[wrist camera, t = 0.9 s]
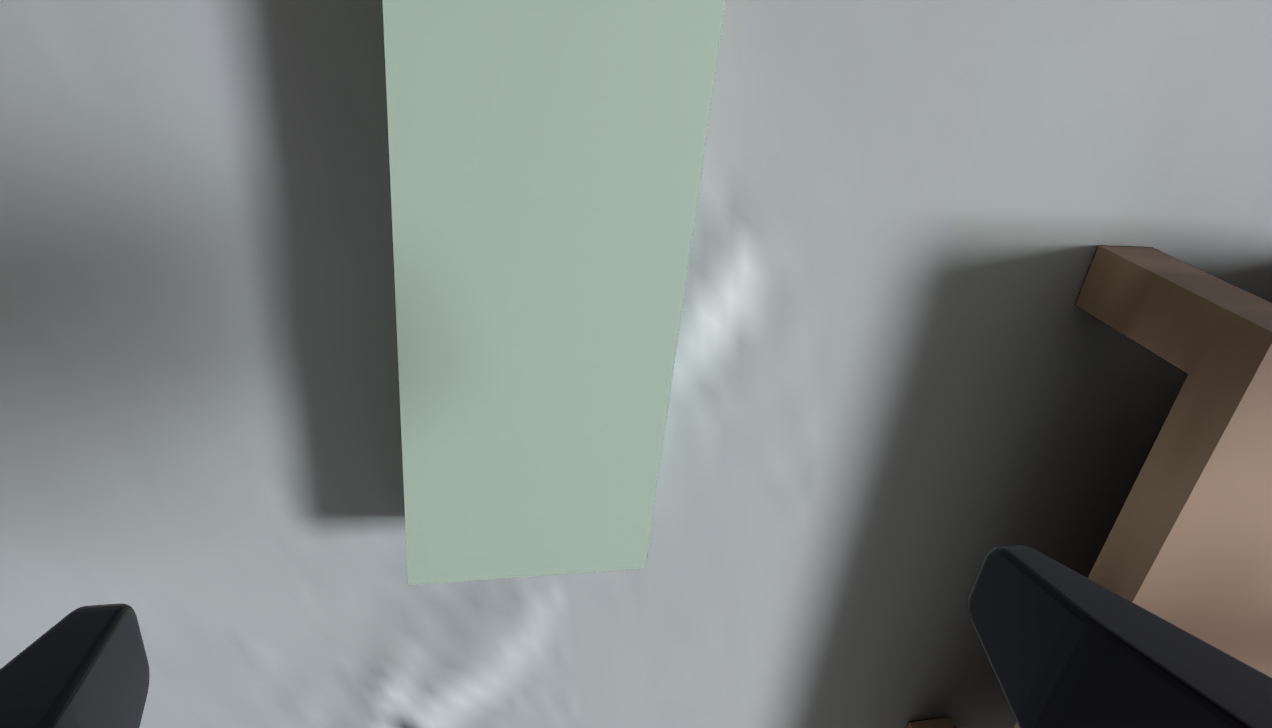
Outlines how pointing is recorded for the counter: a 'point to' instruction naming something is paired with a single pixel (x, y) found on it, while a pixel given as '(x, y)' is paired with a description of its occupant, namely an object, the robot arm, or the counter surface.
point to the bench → (1194, 455)
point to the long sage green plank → (540, 270)
